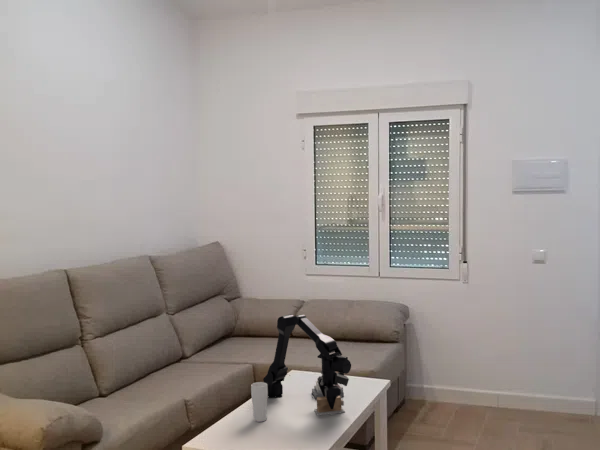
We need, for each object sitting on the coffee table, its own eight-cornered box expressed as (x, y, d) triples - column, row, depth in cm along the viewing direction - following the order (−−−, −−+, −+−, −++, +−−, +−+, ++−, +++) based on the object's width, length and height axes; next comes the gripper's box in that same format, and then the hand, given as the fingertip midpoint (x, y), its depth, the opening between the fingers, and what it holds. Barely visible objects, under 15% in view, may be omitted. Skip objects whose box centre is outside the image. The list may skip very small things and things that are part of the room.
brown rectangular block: (318, 412, 258) (318, 399, 258) (316, 409, 261) (316, 397, 261) (344, 409, 260) (343, 397, 260) (342, 407, 263) (341, 394, 263)
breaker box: (315, 399, 276) (315, 390, 276) (311, 392, 285) (311, 384, 285) (343, 396, 278) (343, 388, 278) (338, 390, 287) (338, 382, 287)
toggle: (317, 392, 279) (317, 383, 279) (316, 389, 283) (315, 380, 282) (324, 391, 279) (324, 382, 279) (322, 389, 283) (322, 380, 283)
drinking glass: (256, 424, 249) (254, 388, 248) (249, 419, 255) (248, 383, 254) (271, 420, 252) (270, 385, 251) (264, 415, 258) (263, 380, 257)
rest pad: (317, 415, 256) (317, 413, 256) (314, 410, 262) (314, 408, 262) (345, 412, 259) (344, 411, 259) (341, 407, 264) (341, 406, 264)
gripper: (352, 374, 252) (353, 411, 253) (341, 361, 270) (342, 396, 271) (326, 376, 250) (327, 413, 251) (316, 363, 268) (317, 398, 269)
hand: (329, 405), depth 260 cm, fingers open, 9 cm apart
